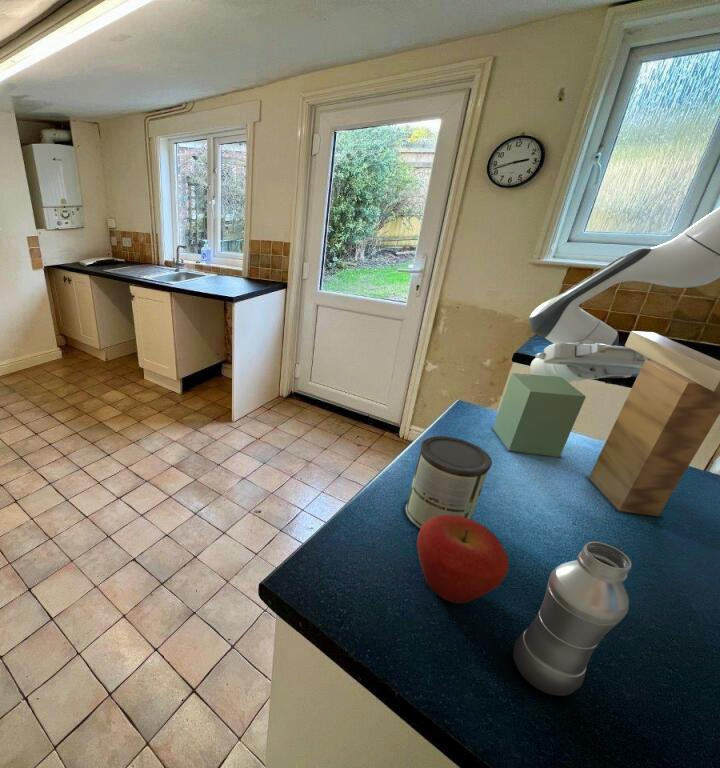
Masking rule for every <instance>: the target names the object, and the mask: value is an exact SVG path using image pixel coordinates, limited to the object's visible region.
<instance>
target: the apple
mask: <svg viewBox="0 0 720 768" xmlns="http://www.w3.org/2000/svg"><path fill="white" fill-rule="evenodd" d="M417 535H418V536H417V541H416V548H417V554H418V555H417V556H418V561H419V563H420V566H421V570H422V573H423V577H424V579H425V582H426V584H427V586H428V587H429V588H430V589H431V590H432V591H433V593H435V594H436V595H437V596H439V597H440V598H441V599H443V600H444V601H447V602H449V603H452V604H466V603H468V602H471V601H473V600H475V599H479V598H480V597H483V596H486V594H488V593H490V592H492V591H493V590H495V589H496V588H497V587H500V585H501V584H502V582H503V581H504V580H505V579H506V577H507V574H508V572H509V568H510V563H509V557H508V553H507V552H506V551H505V549H504V547H503V545H502V543H501V542H500V540H499V539H498V537H497V536H496V535H494V533H493V532H491V530H489V529H488V528H487V527H486V526H484V525H482V524H481V523H478V522H477V521H476V520H475V521H474V520H473V519H471V520H470V519H467V518H464V517H462V516H456V515H441V516H438V517H434V518H431V519H429V520H428V521H426V522H425V523H424V524H423V525H422V526H421V529H420V528H419V532H418V534H417Z"/></svg>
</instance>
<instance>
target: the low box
mask: <svg viewBox="0 0 720 768" xmlns="http://www.w3.org/2000/svg"><path fill="white" fill-rule="evenodd" d="M503 394H504V395H503V397H502V400H501V403H500V406H499V409H498V412H497V415H496V418H495V421H494V424H493V427H492V429H493V430H494V432H495V434H496V435H497V436H498V438H499V439H500V440H501V442H502V443H503V446H504V447H506V449H507V450H508V451H509V452H515V453H516V452H517V453H523V454H532V455H539V456H541V455H542V456H549V457H556V458H560V457H561V455H562V453H563V450H564V448H565V446H566V444H567V442H568V439H569V437H570V434H571V432H572V430H573V427H574V425H575V423H576V421H577V418H578V416H579V414H580V411H581V409H582V407H583V404H584V402H585V400H586V398H587V396H586V395H585V394H584V393H582V392H581V391H580V390H578V389H577V388H576V387H575V386H573V385H572V384H571V383H570V382H569V383H568V382H567V381H566V380H564V379H563V378H562V377H553V376H541V375H533V374H529V373H528V374H527V373H516V372H515V373H514V372H512V373H510V377H509V379H508V382H507V386H506V389H505V392H504V393H503Z"/></svg>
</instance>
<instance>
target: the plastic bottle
mask: <svg viewBox="0 0 720 768" xmlns="http://www.w3.org/2000/svg"><path fill="white" fill-rule="evenodd" d="M631 568H632V561H631V559H630V558H629V557H628V556H627V555H626V554H625V552H623V551H621V550H619V548H616V547H615V546H612V545H611V544H607V543H605V542H599V541H589V542H587V543H586V544H584V546H583V548H582V549H581V551H580V552H579V553H578V555H577V557H576V560H571V561H567V562H562V563H561V564H559V565H558V566H556V567H555V568H553V570H552V571H551V572H550V575H549V577H548V581H547V586H546V589H545V594H544V598H543V599H542V600H543V601H542V602H541V605H540V609H539V610H538V613H537V615H536V617H535V618H534V619H533V621H532V622H531V623H530V625H529V626H528V628H526V629H525V630H524V631H523V632H522V633H521V634H520V635H519V636H518V638H517V639H516V640H515V643H514V645H513V646H514V647H513V653H512V658H513V661H514V664H515V666H516V668H517V670H518V671H519V673H520V674H521V676H522V677H523V678H524V680H526V682H528V683H529V684H530V685H532V687H534V688H536V689H537V690H539V691H541V692H543V693H545V694H548V695H552V696H558V697H565V696H570V695H572V694H573V693H575V692H576V691H577V690H578V689H580V688H581V686H582V685H583V683H584V680H585V676H586V672H587V666H588V664H589V663H590V659H591V657H592V656H593V655H592V654H593V652H594V650H595V649H596V648H597V646H598V645H599V644H600V642H601V641H602V640H603V638H604V637H605V636H606V635H607V634H609V632H610V631H612V629H613V628H615V627H616V626H617V625H618V624H619V623H620V622H621V621H622V620H623V619H624V618H625V617H626V616H627V614H628V612H629V605H630V603H629V602H630V599H629V595H628V593H627V591H626V587H625V586H624V584H623V583H624V582H625V581H626V579H627V578H628V573H629V572H630V570H631Z"/></svg>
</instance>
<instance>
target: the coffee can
mask: <svg viewBox="0 0 720 768" xmlns="http://www.w3.org/2000/svg"><path fill="white" fill-rule="evenodd" d="M419 450H420V451H419V455H418V459H417V463H416V466H415V471H414V475H413V478H412V482H411V487H410V491H409V495H408V499H407V503H406V505H405V514H406V516H407V518H408V519H409V521H410V522H411V523H412V524H414V526H416V527H417V528H418V529H419V530H420V529H421V526H422V525H423V524H424V523H425V522H426V521H428V520H429V519H431V518H434V517H438V516H441V515H456V516H462V517H464V518H467V519H470V520H473V515H474V513H475V510H476V507H477V505H478V501H479V498H480V496H481V492H482V489H483V487H484V484H485V482H486V478H487V476H488V473H489V470H490V469H491V467H492V464H493V460H492V458H491V456H490V455H489V454H488V453H487V452H486V451H485V450H484V449H482V448H481V447H480V446H478V445H476V444H474V443H472V442H470V441H467V440H464V439H461V438H456V437H452V436H445V435H436V436H435V435H434V436H431V437H430V436H429V437H427V438H425V439H424V440H422V441H421V444H420V449H419Z"/></svg>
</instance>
